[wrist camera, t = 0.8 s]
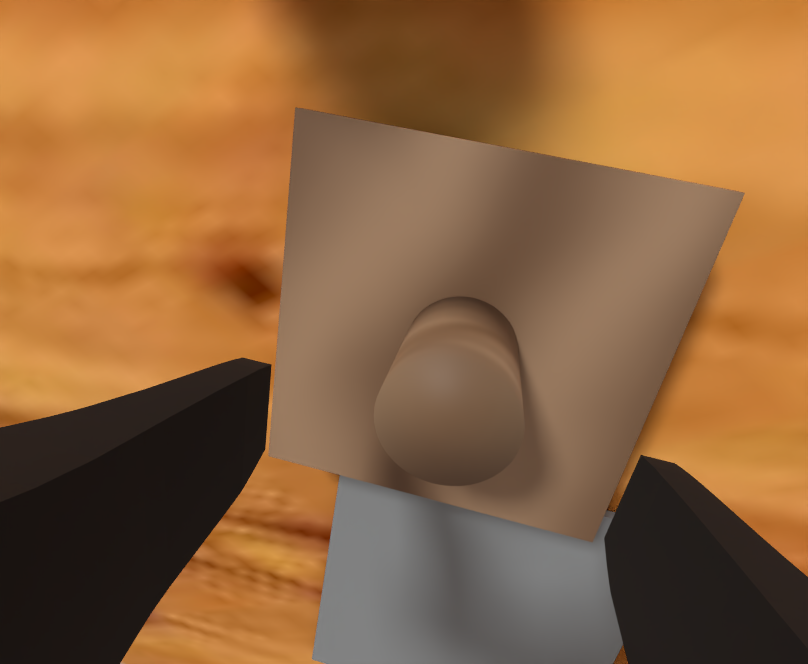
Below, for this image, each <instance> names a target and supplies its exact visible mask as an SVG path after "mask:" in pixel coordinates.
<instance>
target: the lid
mask: <svg viewBox="0 0 808 664" xmlns="http://www.w3.org/2000/svg"><path fill="white" fill-rule="evenodd" d="M744 194H745V193H743V192H738V191H734V190H729V189H723V188H718V187H713V186H708V185H702V184H697V183H692V182H686V181H681V180H676V179H671V178H665V177H660V176H655V175H650V174H644V173H639V172H634V171H629V170H623V169H618V168H613V167H608V166H602V165H597V164H592V163H587V162H581V161H576V160H571V159H566V158H560V157H555V156H550V155H545V154H539V153H534V152H529V151H523V150H518V149H513V148H508V147H502V146H497V145H492V144H487V143H481V142H476V141H471V140H466V139H460V138H455V137H450V136H445V135H439V134H434V133H429V132H424V131H418V130H413V129H408V128H403V127H397V126H392V125H387V124H381V123H376V122H371V121H366V120H360V119H355V118H350V117H345V116H339V115H334V114H329V113H324V112H318V111H313V110H308V109H302V108H296V107H295V119H294V132H293V145H292V158H291V171H290V184H289V197H288V210H287V223H286V236H285V249H284V262H283V275H282V288H281V301H280V314H279V326H278V339H277V352H276V365H275V378H274V391H273V404H272V417H271V430H270V443H269V456H271V457H274V458H278V459H282V460H286V461H289V462H293V463H297V464H301V465H304V466H308V467H312V468H316V469H319V470H323V471H327V472H330V473H334V474H338V475H342V476H345V477H349V478H353V479H357V480H360V481H364V482H368V483H372V484H375V485H379V486H383V487H387V488H390V489H394V490H398V491H402V492H405V493H409V494H413V495H417V496H420V497H424V498H428V499H432V500H435V501H439V502H443V503H447V504H450V505H454V506H458V507H462V508H465V509H469V510H473V511H477V512H480V513H484V514H488V515H492V516H495V517H499V518H503V519H507V520H510V521H514V522H518V523H522V524H525V525H529V526H533V527H537V528H540V529H544V530H548V531H551V532H555V533H559V534H563V535H566V536H570V537H574V538H578V539H581V540H585V541H589V542H593V540H594V538H595V535H596V533H597V531H598V529H599V526H600V524H601V522H602V519H603V517H604V515H605V513H606V510H607V508H608V506H609V503H610V501H611V499H612V497H613V494H614V492H615V490H616V487H617V485H618V483H619V480H620V478H621V476H622V474H623V471H624V469H625V467H626V464H627V462H628V460H629V458H630V455H631V453H632V451H633V448H634V446H635V444H636V441H637V439H638V437H639V435H640V432H641V430H642V428H643V425H644V423H645V421H646V419H647V416H648V414H649V412H650V409H651V407H652V405H653V402H654V400H655V398H656V396H657V393H658V391H659V389H660V386H661V384H662V382H663V380H664V377H665V375H666V373H667V370H668V368H669V366H670V363H671V361H672V359H673V357H674V354H675V352H676V350H677V347H678V345H679V343H680V341H681V338H682V336H683V334H684V331H685V329H686V327H687V325H688V322H689V320H690V318H691V315H692V313H693V311H694V308H695V306H696V304H697V302H698V299H699V297H700V295H701V292H702V290H703V288H704V286H705V283H706V281H707V279H708V276H709V274H710V272H711V269H712V267H713V265H714V263H715V260H716V258H717V256H718V253H719V251H720V249H721V247H722V244H723V242H724V240H725V237H726V235H727V233H728V230H729V228H730V226H731V224H732V221H733V219H734V217H735V214H736V212H737V210H738V208H739V205H740V203H741V201H742V198H743V196H744Z"/></svg>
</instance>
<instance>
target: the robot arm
mask: <svg viewBox="0 0 808 664" xmlns="http://www.w3.org/2000/svg"><path fill="white" fill-rule="evenodd" d="M270 377H271V364H267V363H262V362H258V361H254V360H250V359H246V358H239V359H235V360H231V361H228V362H224V363H221V364H218V365H215V366H212V367H209V368H206V369H203V370H200V371H197V372H194V373H192V374H189V375H186V376H183V377H180V378H177V379H174V380H171V381H168V382H165V383H162V384H159V385H156V386H153V387H150V388H147V389H144V390H141V391H138V392H135V393H131V394H128V395H125V396H121V397H118V398H115V399H111V400H108V401H105V402H101V403H98V404H95V405H92V406H88V407H85V408H81V409H77V410H74V411H70V412H66V413H62V414H58V415H54V416H50V417H46V418H41V419H37V420H33V421H28V422H24V423H19V424H15V425H10V426H6V427H1V428H0V664H120V662H121V661H122V659H123V658H124V656H125V654H126V653H127V651H128V649H129V648H130V646H131V645H132V643H133V641H134V640H135V638H136V637H137V635H138V633H139V632H140V630H141V629H142V627H143V625H144V624H145V622H146V620H147V619H148V617H149V616H150V614H151V613H152V611H153V610H154V608H155V607H156V605H157V604H158V603H159V601H160V600H161V598H162V597H163V595H164V594H165V593H166V591H167V590H168V588H169V587H170V586H171V584H172V583H173V582H174V580H175V579H176V578H177V576H178V575H179V574H180V572H181V571H182V570H183V568H184V567H185V566H186V564H187V563H188V562H189V561H190V559H191V558H192V557H193V555H194V554H195V553H196V551H197V550H198V549H199V547H200V546H201V545H202V543H203V542H204V541H205V539H206V538H207V537H208V535H209V534H210V533H211V531H212V530H213V529H214V528H215V526H216V525H217V524H218V522H219V521H220V520H221V518H222V517H223V516H224V514H225V513H226V511H227V510H228V509H229V507H230V506H231V505H232V503H233V502H234V501H235V499H236V498H237V497H238V495H239V494H240V492H241V491H242V489H243V488H244V486H245V484H246V483H247V481H248V479H249V477H250V476H251V474H252V472H253V470H254V469H255V467H256V465H257V463H258V461H259V459H260V458H261V456H262V454H263V452H264V450H265V445H266V431H267V418H268V404H269V391H270ZM604 542H605V552H606V562H607V571H608V578H609V586H610V592H611V597H612V601H613V605H614V609H615V613H616V617H617V621H618V625H619V629H620V633H621V637H622V641H623V645H624V649H625V653H626V656H627V660H628V664H808V577H807V576H806V575H805V574H804V573H802V572H801V571H800V570H799V569H798V568H796V567H795V566H794V565H793V564H792V563H791V562H789V561H788V560H787V559H786V558H785V557H784V556H782V555H781V554H780V553H779V552H778V551H777V550H776V549H774V548H773V547H772V546H771V545H770V544H769V543H768V542H766V541H765V540H764V539H763V538H762V537H761V536H760V535H758V534H757V533H756V532H755V531H754V530H753V529H752V528H751V527H749V526H748V525H747V524H746V523H745V522H744V521H743V520H742V519H740V518H739V517H738V516H737V515H736V514H735V513H734V512H733V511H731V510H730V509H729V508H728V507H727V506H726V505H725V504H724V503H722V502H721V501H720V500H719V499H718V498H717V497H716V496H715V495H713V494H712V493H711V492H710V491H709V490H708V489H706V488H705V487H704V486H703V485H702V484H701V483H700V482H698V481H697V480H696V479H695V478H694V477H692V476H691V475H690V474H689V473H687V472H686V471H685V470H683V469H682V468H681V467H679V466H678V465H677V464H675V463H671V462H667V461H663V460H659V459H655V458H651V457H647V456H643V455H641V456H640V459H639V461H638V463H637V465H636V467H635V470H634V472H633V474H632V476H631V479H630V481H629V483H628V485H627V488H626V490H625V492H624V494H623V497H622V499H621V501H620V503H619V506H618V508H617V510H616V512H615V515H614V517H613V519H612V521H611V524H610V526H609V528H608V530H607V533H606V535H605V537H604Z"/></svg>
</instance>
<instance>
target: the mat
mask: <svg viewBox="0 0 808 664" xmlns="http://www.w3.org/2000/svg"><path fill="white" fill-rule="evenodd" d="M614 515H615V512H611V511H608V510H606V513H605V515H604V517H603V519H602V522H601V524H600V526H599V529H598V531H597V533H596V535H595V538H594V540H593V542H589V541H585V540H581V539H578V538H574V537H570V536H566V535H563V534H559V533H555V532H551V531H548V530H544V529H540V528H537V527H533V526H529V525H525V524H522V523H518V522H514V521H510V520H507V519H503V518H499V517H495V516H492V515H488V514H484V513H480V512H477V511H473V510H469V509H465V508H462V507H458V506H454V505H450V504H447V503H443V502H439V501H435V500H432V499H428V498H424V497H420V496H417V495H413V494H409V493H405V492H402V491H398V490H394V489H390V488H387V487H383V486H379V485H375V484H372V483H368V482H364V481H360V480H357V479H353V478H349V477H345V476H342V475H340V477H339V484H338V491H337V497H336V504H335V510H334V517H333V524H332V530H331V537H330V544H329V550H328V557H327V563H326V570H325V577H324V583H323V590H322V597H321V603H320V610H319V616H318V623H317V630H316V636H315V643H314V650H313V656H312V659H313V660H316V661H319V662H322V663H326V664H613V663H614V661H615V659H616V657H617V655H618V653H619V651H620V649H621V647H622V646H623V641H622V637H621V633H620V629H619V625H618V621H617V617H616V613H615V609H614V605H613V601H612V597H611V592H610V586H609V578H608V571H607V562H606V552H605V542H604V537H605V535H606V533H607V530H608V528H609V526H610V524H611V521H612V519H613V517H614Z"/></svg>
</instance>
